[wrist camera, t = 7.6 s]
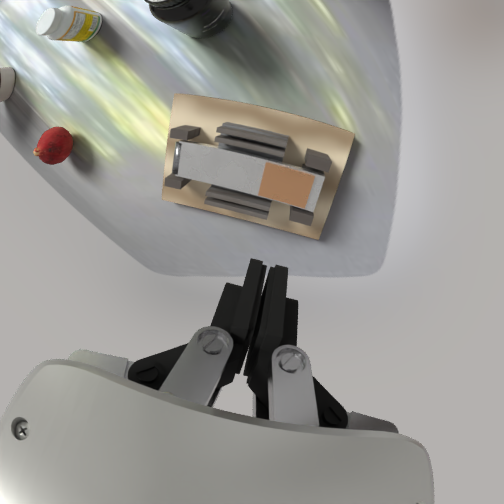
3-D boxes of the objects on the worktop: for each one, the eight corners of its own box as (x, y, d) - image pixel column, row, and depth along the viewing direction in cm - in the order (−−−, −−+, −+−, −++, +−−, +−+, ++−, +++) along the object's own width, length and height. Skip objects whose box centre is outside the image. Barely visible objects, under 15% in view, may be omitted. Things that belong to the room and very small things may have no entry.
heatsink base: (181, 93, 28) (158, 93, 23) (351, 132, 28) (363, 139, 23) (167, 194, 36) (146, 212, 31) (317, 232, 35) (320, 257, 30)
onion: (84, 124, 31) (47, 135, 25) (81, 159, 34) (46, 175, 28) (61, 121, 31) (25, 132, 24) (59, 154, 34) (25, 169, 28)
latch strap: (178, 138, 27) (173, 140, 26) (324, 174, 26) (325, 177, 25) (174, 172, 29) (169, 175, 28) (313, 208, 29) (313, 213, 27)
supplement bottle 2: (229, 39, 24) (194, 11, 14) (176, 39, 24) (122, 20, 14) (238, -6, 20) (210, -49, 10) (185, -4, 21) (138, -37, 11)
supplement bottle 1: (107, 25, 23) (61, 17, 15) (82, 48, 25) (36, 48, 17) (97, 5, 21) (54, -4, 13) (74, 28, 22) (30, 25, 14)
